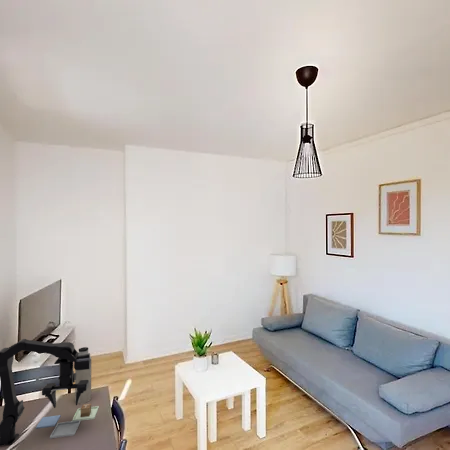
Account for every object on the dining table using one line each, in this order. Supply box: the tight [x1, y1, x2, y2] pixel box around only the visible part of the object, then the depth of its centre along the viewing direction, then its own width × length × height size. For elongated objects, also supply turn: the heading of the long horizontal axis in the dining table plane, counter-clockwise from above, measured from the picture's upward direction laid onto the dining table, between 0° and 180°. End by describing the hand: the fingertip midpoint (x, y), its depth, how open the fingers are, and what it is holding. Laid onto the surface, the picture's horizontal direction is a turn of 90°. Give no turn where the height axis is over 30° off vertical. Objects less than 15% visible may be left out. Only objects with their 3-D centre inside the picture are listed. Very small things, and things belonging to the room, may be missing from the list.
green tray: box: [71, 405, 100, 421], centre depth 150 cm, size 10×10×1 cm
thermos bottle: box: [74, 346, 92, 405], centre depth 165 cm, size 8×8×28 cm
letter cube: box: [80, 403, 92, 417], centre depth 150 cm, size 4×4×4 cm
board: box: [35, 414, 61, 429], centre depth 144 cm, size 8×8×1 cm
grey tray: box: [49, 420, 81, 440], centre depth 138 cm, size 10×10×1 cm
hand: (66, 406), depth 139 cm, fingers open, 9 cm apart
